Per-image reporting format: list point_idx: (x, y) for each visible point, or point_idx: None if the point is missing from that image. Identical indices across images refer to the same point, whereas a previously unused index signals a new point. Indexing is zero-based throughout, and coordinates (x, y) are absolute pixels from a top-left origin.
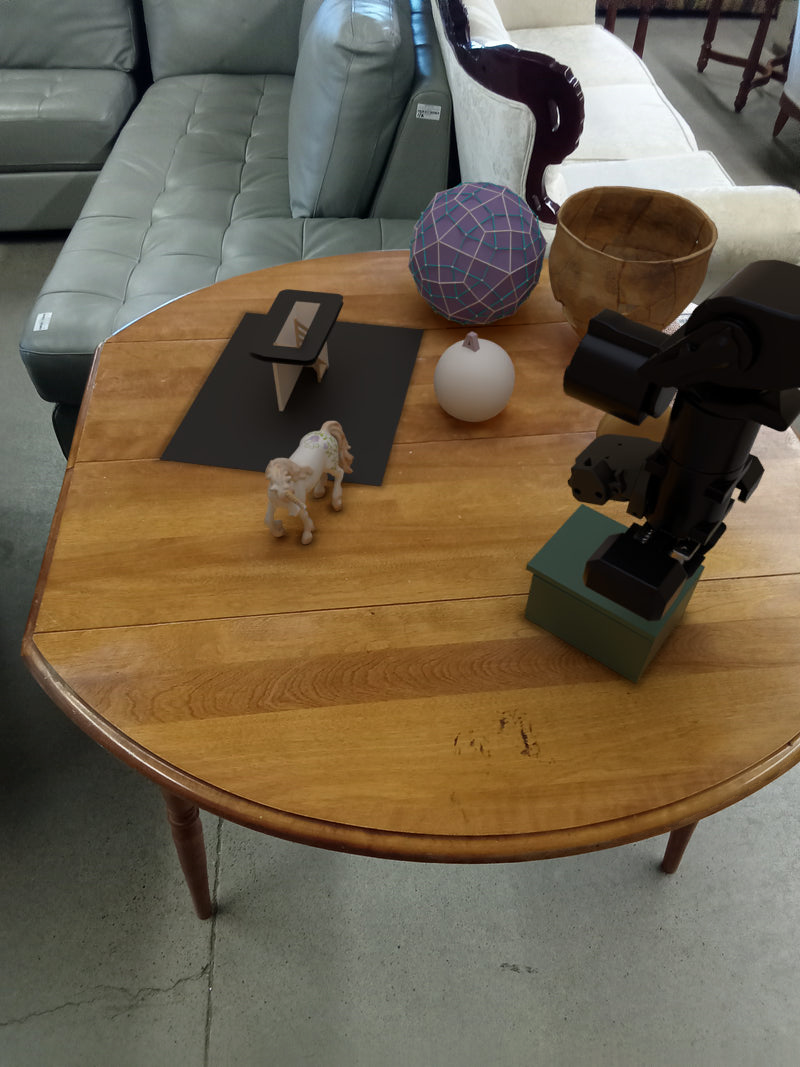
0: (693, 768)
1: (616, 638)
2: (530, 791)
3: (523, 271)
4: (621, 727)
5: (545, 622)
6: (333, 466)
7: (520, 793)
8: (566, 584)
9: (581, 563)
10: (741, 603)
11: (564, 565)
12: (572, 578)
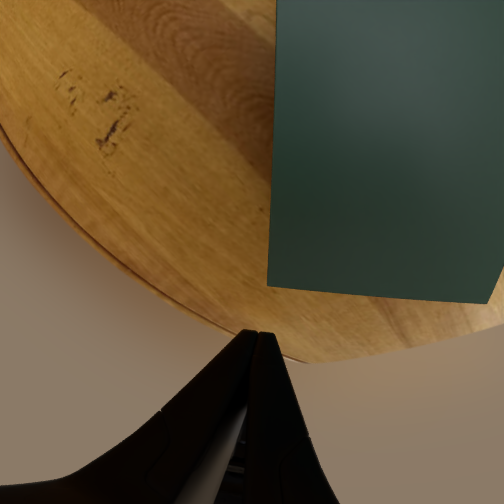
0: (215, 303)
1: None
2: (75, 174)
3: None
4: (206, 222)
5: None
6: None
7: (67, 167)
8: (282, 48)
9: (381, 53)
10: None
11: (343, 16)
12: (313, 52)
